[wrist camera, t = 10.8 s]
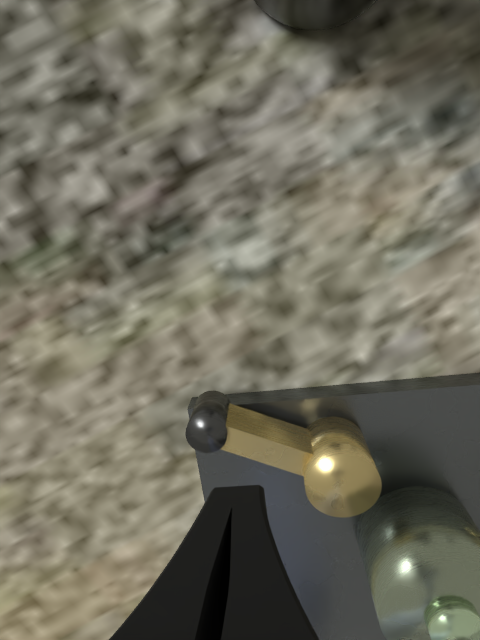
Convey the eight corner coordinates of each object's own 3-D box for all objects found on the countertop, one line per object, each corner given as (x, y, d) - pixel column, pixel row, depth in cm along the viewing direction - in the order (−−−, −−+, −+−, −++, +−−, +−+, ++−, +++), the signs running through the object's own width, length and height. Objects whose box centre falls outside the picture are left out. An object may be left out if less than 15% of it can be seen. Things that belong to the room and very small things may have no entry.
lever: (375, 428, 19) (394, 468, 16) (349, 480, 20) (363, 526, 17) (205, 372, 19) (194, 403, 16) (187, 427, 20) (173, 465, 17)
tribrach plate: (596, 621, 23) (713, 769, 17) (233, 630, 26) (223, 764, 19) (640, 359, 19) (821, 434, 13) (192, 397, 21) (161, 477, 15)
